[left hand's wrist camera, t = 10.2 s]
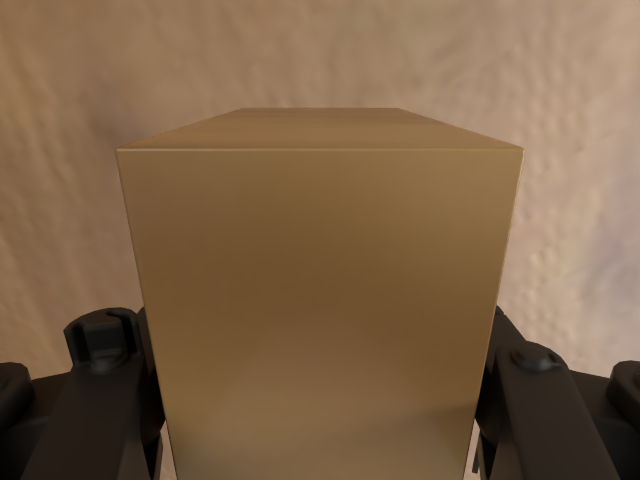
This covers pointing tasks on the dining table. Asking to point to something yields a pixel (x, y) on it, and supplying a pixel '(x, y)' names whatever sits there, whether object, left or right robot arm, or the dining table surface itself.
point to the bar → (320, 288)
